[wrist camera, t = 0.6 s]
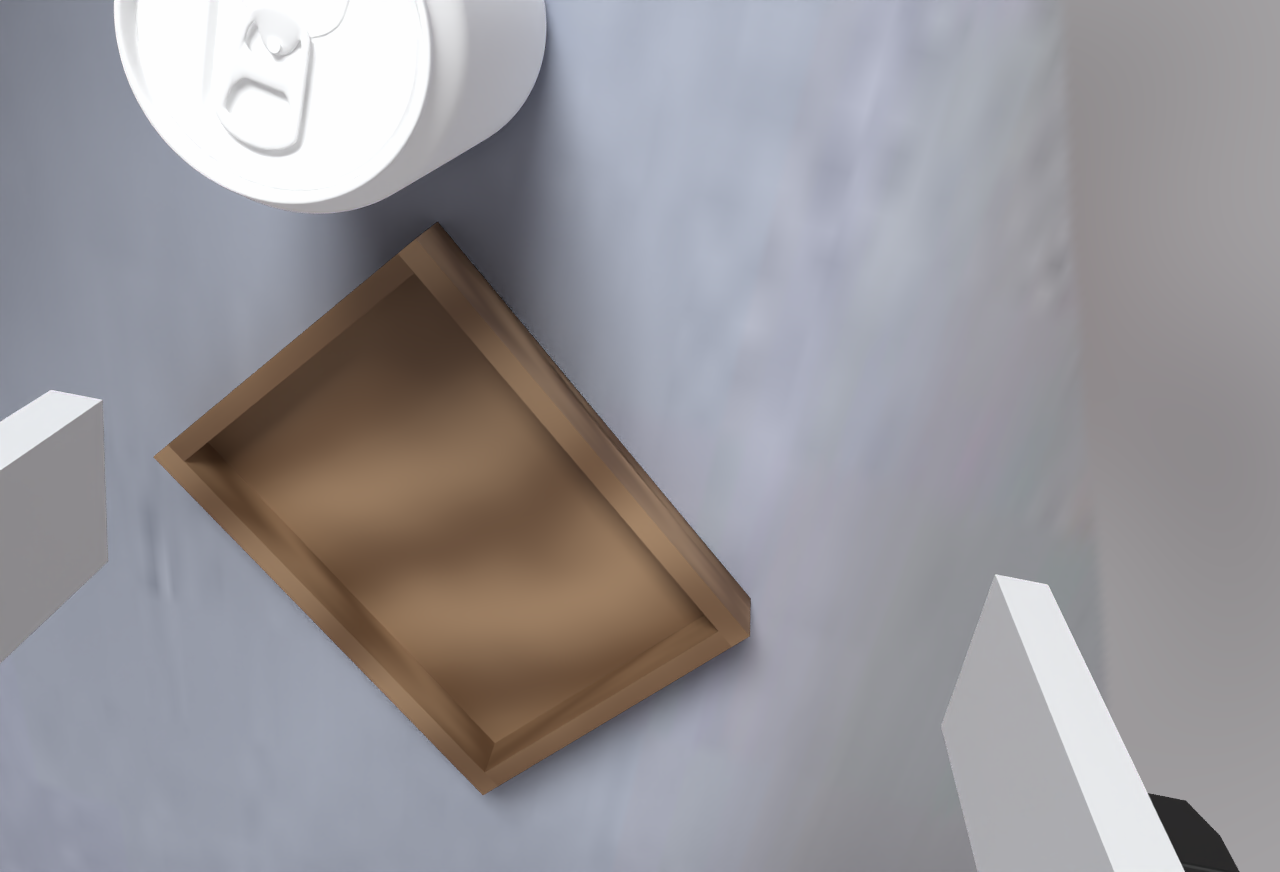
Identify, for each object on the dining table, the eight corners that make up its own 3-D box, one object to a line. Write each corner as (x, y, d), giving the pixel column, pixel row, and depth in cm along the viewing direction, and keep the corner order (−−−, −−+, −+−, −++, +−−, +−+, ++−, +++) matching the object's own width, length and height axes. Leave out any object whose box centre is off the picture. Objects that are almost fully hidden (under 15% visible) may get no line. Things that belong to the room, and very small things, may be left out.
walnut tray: (188, 429, 42) (153, 456, 39) (437, 221, 37) (415, 238, 35) (497, 752, 46) (482, 795, 44) (750, 598, 42) (750, 636, 39)
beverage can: (586, -61, 34) (501, -79, 23) (505, 187, 37) (395, 278, 26) (335, -165, 33) (125, -234, 22) (275, 95, 36) (65, 148, 25)
